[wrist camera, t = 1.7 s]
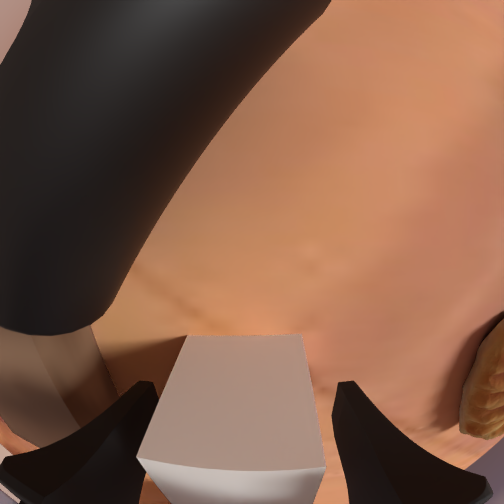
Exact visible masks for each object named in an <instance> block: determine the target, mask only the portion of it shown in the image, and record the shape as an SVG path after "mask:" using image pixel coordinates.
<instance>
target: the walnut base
mask: <svg viewBox="0 0 504 504" xmlns="http://www.w3.org/2000/svg"><path fill="white" fill-rule="evenodd" d="M119 398H120V397H119V395H118V393H117V391H116V389H115V387H114V384H113V382H112V380H111V378H110V375H109V373H108V371H107V368H106V366H105V363H104V361H103V358H102V356H101V353H100V351H99V348H98V345H97V343H96V340H95V337H94V334H93V331H92V328H91V325H89V326H86V327H84V328H82V329H79V330H77V331H74V332H72V333H67V334H61V335H55V336H35V335H26V334H22V333H18V332H14V331H10V330H6V329H4V328H2V327H0V416H1V417H2V419H3V420H4V421H5V423H6V424H7V425H8V427H9V428H10V429H11V431H12V432H13V433H14V434H16V435H18V436H19V437H21V438H23V439H24V440H26V441H28V442H30V443H32V444H33V445H35V446H37V447H39V448H42V447H45V446H48V445H50V444H52V443H54V442H57V441H59V440H61V439H63V438H65V437H67V436H69V435H71V434H72V433H74V432H76V431H77V430H79V429H81V428H82V427H84V426H85V425H87V424H88V423H89V422H91V421H92V420H93V419H95V418H96V417H97V416H99V415H100V414H101V413H103V412H104V411H105V410H106V409H107V408H109V407H110V406H111V405H112V404H113V403H114V402H116V401H117V400H118V399H119Z"/></svg>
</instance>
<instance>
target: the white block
mask: <svg viewBox="0 0 504 504" xmlns="http://www.w3.org/2000/svg"><path fill="white" fill-rule="evenodd" d="M136 457H137V459H138V460H139V462H140V463H141V465H142V466H143V468H144V469H145V470H146V472H147V473H148V475H149V476H150V477H151V479H152V480H153V481H154V483H155V484H156V485H157V487H158V488H159V489H160V490H161V492H162V493H163V494H164V495H165V497H166V498H167V499H168V500H169V501H170V503H171V504H313V502H314V499H315V497H316V494H317V491H318V489H319V486H320V483H321V481H322V478H323V475H324V472H325V469H326V461H325V455H324V449H323V443H322V437H321V432H320V426H319V420H318V415H317V409H316V404H315V398H314V393H313V388H312V383H311V377H310V372H309V367H308V362H307V357H306V352H305V347H304V343H303V338H302V334H286V335H254V336H205V335H187V337H186V340H185V342H184V344H183V346H182V349H181V351H180V353H179V355H178V358H177V360H176V362H175V365H174V367H173V369H172V372H171V374H170V376H169V379H168V381H167V383H166V386H165V388H164V390H163V393H162V395H161V397H160V400H159V402H158V405H157V407H156V409H155V412H154V414H153V417H152V419H151V421H150V424H149V426H148V429H147V431H146V434H145V436H144V438H143V441H142V443H141V446H140V448H139V451H138V453H137V456H136Z"/></svg>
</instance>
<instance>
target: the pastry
mask: <svg viewBox="0 0 504 504" xmlns="http://www.w3.org/2000/svg"><path fill="white" fill-rule="evenodd" d="M459 416H460V419H459V430H460V432H461V433H463V434H468V435H471V436H473V437H477V438H483V439H485V440H489V439H493V438H495V437H498V436H500V435H502V434H503V433H504V319H503V320H502V321H501V322H500V323H499V324H498V325H497V326H496V327H495V328H494V329H493V330H492V332H491V333H490V334H489V335H488V336H487V337H486V338H485V339H484V340H483V342H482V343H481V345H480V347H479V348H478V351H477V357H476V360H475V362H474V365H473V366H472V369H471V371H470V374H469V376H468V377H467V379H466V381H465V383H464V385H463V394H462V400H461V404H460V410H459Z"/></svg>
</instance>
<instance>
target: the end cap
mask: <svg viewBox="0 0 504 504" xmlns="http://www.w3.org/2000/svg"><path fill="white" fill-rule="evenodd" d="M330 2H331V0H32V2H31V5H30V8H29V11H28V14H27V16H26V18H25V20H24V23H23V25H22V27H21V29H20V31H19V33H18V35H17V37H16V39H15V40H14V42H13V44H12V45H11V47H10V49H9V51H8V52H7V54H6V56H5V58H4V59H3V61H2V63H1V64H0V327H2V328H4V329H6V330H10V331H14V332H18V333H22V334H26V335H35V336H55V335H61V334H67V333H72V332H74V331H77V330H79V329H82V328H84V327H86V326H89V325H91V324H92V323H93V322H95V321H96V320H97V319H99V318H100V317H101V316H103V315H104V313H105V312H106V311H107V309H108V308H109V307H110V305H111V304H112V303H113V301H114V299H115V297H116V295H117V293H118V291H119V289H120V287H121V285H122V283H123V281H124V279H125V277H126V275H127V274H128V272H129V270H130V268H131V266H132V264H133V263H134V261H135V259H136V257H137V255H138V254H139V252H140V250H141V248H142V246H143V245H144V243H145V241H146V240H147V238H148V236H149V234H150V233H151V231H152V229H153V228H154V226H155V224H156V223H157V221H158V219H159V218H160V216H161V214H162V213H163V211H164V210H165V208H166V206H167V205H168V203H169V202H170V200H171V199H172V197H173V195H174V194H175V192H176V191H177V189H178V188H179V186H180V185H181V183H182V182H183V180H184V179H185V177H186V176H187V174H188V173H189V171H190V170H191V168H192V167H193V166H194V164H195V163H196V161H197V160H198V158H199V157H200V156H201V154H202V153H203V151H204V150H205V149H206V147H207V146H208V144H209V143H210V142H211V140H212V139H213V138H214V136H215V135H216V134H217V132H218V131H219V130H220V128H221V127H222V126H223V124H224V123H225V122H226V120H227V119H228V118H229V117H230V115H231V114H232V113H233V111H234V110H235V109H236V108H237V106H238V105H239V104H240V103H241V101H242V100H243V99H244V98H245V97H246V95H247V94H248V93H249V92H250V91H251V89H252V88H253V87H254V86H255V85H256V83H257V82H258V81H259V80H260V79H261V78H262V76H263V75H264V74H265V73H266V72H267V71H268V70H269V68H270V67H271V66H272V65H273V64H274V63H275V62H276V61H277V60H278V58H279V57H280V56H281V55H282V54H283V53H284V52H285V51H286V50H287V49H288V48H289V47H290V46H291V45H292V44H293V43H294V41H295V40H296V39H297V38H298V37H299V36H300V35H301V34H302V33H303V32H304V31H305V30H306V29H307V28H308V27H309V26H310V25H311V24H312V23H313V22H314V21H316V20H317V19H318V18H319V17H320V16H321V15H322V14H323V13H324V11H325V10H326V8H327V7H328V5H329V4H330Z"/></svg>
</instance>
